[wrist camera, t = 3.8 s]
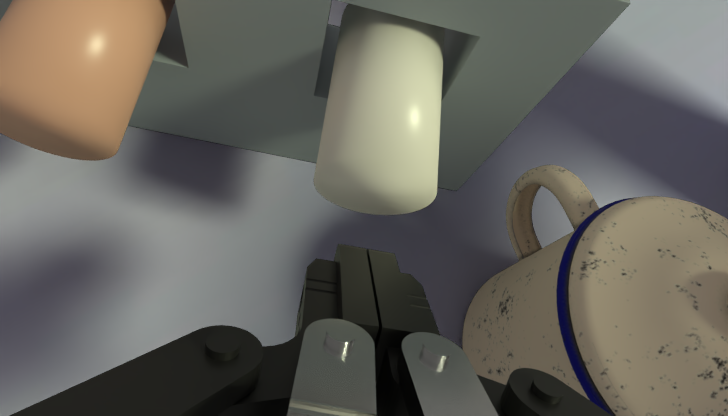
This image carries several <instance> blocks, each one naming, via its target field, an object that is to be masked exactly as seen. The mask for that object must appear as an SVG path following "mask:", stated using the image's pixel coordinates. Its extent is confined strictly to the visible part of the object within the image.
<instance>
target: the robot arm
mask: <svg viewBox="0 0 728 416" xmlns="http://www.w3.org/2000/svg"><path fill="white" fill-rule="evenodd" d="M10 416H612V415H610V414H609V413H608V412H606V411H605V410H603V409H602V408H600V407H599V406H597V405H596V404H594V403H593V402H591V401H590V400H588V399H587V398H586V397H584V396H583V395H581V394H580V393H578V392H577V391H575V390H574V389H572V388H571V387H569V386H568V385H566V384H565V383H563V382H562V381H560V380H559V379H557V378H556V377H554V376H552V375H550V374H548V373H545V372H543V371H540V370H536V369H532V368H519V369H516V370H514V371H513V372H512V373H511V374H510V376H509V379H508V381H507V384H506V385H504V384H502V383H499V382H496V381H493V380H491V379H488V378H485V377H482V376H480V375H477V374H476V372H475V370H474V368H473V367H472V365H471V363H470V361H469V359H468V357H467V355H466V354H465V352H464V351H463V350H462V349H461V348H460V347H459V346H458V345H456V344H455V343H454V342H452V341H450V340H449V339H447V338H445V337H442V336H440V334H439V331H438V328H437V326H436V323H435V320H434V317H433V315H432V312H431V310H430V306H429V304H428V301H427V300H426V295H425V293H424V290H423V287H422V285H421V284H420V283H419V282H418V281H417V280H416V279H415V278H414V277H413V276H412V275H411V274H405V273H400V271H399V267H398V264H397V260H396V257H395V254H394V253H388V252H382V251H376V250H371V249H367V250H366V249H365V248H360V247H354V246H348V245H343V244H338V246H337V250H336V254H335V258H334V261H328V260H322V259H315V260H314V261H313V262H312V263H311V264H310V265H309V266H308V267H307V272H306V276H305V281H304V286H303V291H302V296H301V301H300V306H299V311H298V316H297V323H296V332H295V337H294V338H293V339H291V340H290V341H288V342H285V343H283V344H279V345H275V346H267V347H262V345H261V343H260V341H259V340H258V339H257V338H256V337H255V336H254V335H253V334H251V333H249V332H248V331H246V330H243V329H241V328H237V327H232V326H223V325H220V326H209V327H205V328H202V329H199V330H196V331H194V332H192V333H190V334H188V335H185V336H183V337H181V338H179V339H177V340H174V341H172V342H170V343H168V344H166V345H163V346H161V347H159V348H157V349H155V350H153V351H150V352H148V353H146V354H144V355H142V356H139V357H137V358H135V359H133V360H131V361H128V362H126V363H124V364H122V365H120V366H117V367H115V368H113V369H111V370H109V371H106V372H104V373H102V374H100V375H98V376H96V377H93V378H91V379H89V380H87V381H85V382H82V383H80V384H78V385H76V386H74V387H71V388H69V389H67V390H65V391H63V392H60V393H58V394H56V395H54V396H52V397H50V398H47V399H45V400H43V401H41V402H39V403H36V404H34V405H32V406H30V407H28V408H25V409H23V410H21V411H19V412H17V413H14V414H12V415H10Z"/></svg>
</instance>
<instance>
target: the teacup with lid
mask: <svg viewBox="0 0 728 416" xmlns="http://www.w3.org/2000/svg"><path fill="white" fill-rule="evenodd" d="M541 186H544V187H545V188H547V189H548V190H550V191H551V192H552V193H553V194H554V195H555V196H556V198H557V199H558V200H559V202H560V204H561V205H562V207H563V209H564V210H565V212H566V214H567V216H568V218H569V220H570V222H571V224H572V226H573V228H574V231H573V232H571V233H570V234H568V235H566V236H564V237H562V238H561V239H559V240H557V241H555V242H553V243H552V244H550V245H548V246H546V247H544V248H543V249H542V248H541V245H540V243H539V241H538V239H537V236H536V234H535V231H534V228H533V223H532V205H533V201H534V198H535V195H536V193H537V191H538V190H539V188H540V187H541ZM506 224H507V230H508V234H509V237H510V240H511V243H512V245H513V248H514V250H515V253H516V255H517V257H518V259H519V262H517V263H515V264H514V265H512V266H510V267H508V268H507V269H505V270H503V271H501V272H499V273H498V274H496V275H494V276H493V277H492V278H490V279H489V280H488V281H487V282H486V283H485V284H484V285H483V286H482V287H481V288H480V289H479V291H478V292H477V293H476V295H475V296H474V298H473V300H472V302H471V304H470V306H469V308H468V311H467V314H466V318H465V321H464V327H463V338H462V346H463V351H464V352H465V354H466V355H467V357H468V359H469V361H470V363H471V365H472V367H473V368H474V370H475V372H476V374H477V375H480V376H482V377H485V378H488V379H491V380H493V381H496V382H499V383H502V384H504V385H506V384H507V381H508V379H509V376H510V374H511V373H512V372H513V371H514V370H516V369H519V368H532V369H536V370H540V371H543V372H545V373H548V374H550V375H552V376H554V377H556V378H557V379H559V380H560V381H562V382H563V383H565V384H566V385H568V386H569V387H571V388H572V389H574V390H575V391H577V392H578V393H580V394H581V395H583V396H584V397H586V398H587V399H588V400H590V401H591V402H593V403H594V404H596V405H597V406H599V407H600V408H602V409H603V410H605V411H606V412H608V413H609V414H610V415H612V416H728V219H726V218H725V217H723V216H721V215H719V214H717V213H716V212H714V211H711V210H709V209H707V208H705V207H703V206H700V205H697V204H695V203H692V202H688V201H685V200H681V199H675V198H669V197H658V196H645V197H638V198H628V199H623V200H619V201H615V202H613V203H610V204H608V205H605V206H604V207H602V208H600V209H599V208H598V206H597V204H596V202H595V200H594V198H593V197H592V195H591V193H590V192H589V190H588V189H587V187H586V186H585V185H584V183H583V182H582V181H581V180H580V179H579V178H578V177H577V176H576V175H575V174H573V173H572V172H570V171H569V170H567V169H565V168H562V167H560V166H556V165H544V166H540V167H537V168H533V169H531V170H529V171H527V172H526V173H524V174H523V175H522V176H521V177H520V178H519V179H518V180H517V181H516V183H515V184H514V186H513V188H512V190H511V192H510V195H509V198H508V202H507V208H506Z"/></svg>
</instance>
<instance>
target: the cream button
mask: <svg viewBox="0 0 728 416" xmlns="http://www.w3.org/2000/svg"><path fill="white" fill-rule="evenodd" d="M444 33H445V28H444V27H440V26H436V25H432V24H428V23H424V22H420V21H416V20H412V19H408V18H404V17H400V16H396V15H392V14H388V13H385V12H381V11H377V10H373V9H369V8H365V7H361V6H357V5H353V4H349V3H348V5H347V6H346V8H345V10H344V12H343V15H342V20H341V25H340V31H339V37H338V43H337V48H336V54H335V60H334V66H333V71H332V77H331V83H330V89H329V94H328V100H327V106H326V112H325V117H324V123H323V129H322V135H321V140H320V146H319V152H318V158H317V163H316V169H315V175H314V186H315V188H316V190H317V191H318V192H319V193H320V194H321V195H322V196H323V197H324V198H325V199H327V200H328V201H330V202H332V203H334V204H336V205H338V206H340V207H343V208H346V209H349V210H352V211H356V212H361V213H366V214H374V215H399V214H406V213H411V212H415V211H418V210H420V209H423V208H425V207H427V206H428V205H429V204H431V203H432V202H433V201H434V199H435V198H436V195H437V182H438V160H439V139H440V118H441V97H442V75H443V54H444Z"/></svg>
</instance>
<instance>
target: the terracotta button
mask: <svg viewBox="0 0 728 416" xmlns="http://www.w3.org/2000/svg"><path fill="white" fill-rule="evenodd" d="M174 4H175V0H12V2H11V4H10V5H9V7H8V9H7V10H6V12H5V14H4V16H3V17H2V19H1V21H0V133H2V134H4V135H5V136H7V137H9V138H11V139H14V140H16V141H18V142H20V143H22V144H25V145H27V146H30V147H32V148H35V149H38V150H41V151H44V152H47V153H50V154H54V155H58V156H62V157H67V158H72V159H78V160H104V159H108V158H110V157H112V156H114V155H115V154H116V153H117V151H118V149H119V147H120V144H121V141H122V139H123V136H124V134H125V131H126V128H127V126H128V123H129V121H130V118H131V115H132V113H133V110H134V108H135V105H136V102H137V100H138V97H139V95H140V92H141V90H142V87H143V84H144V82H145V79H146V77H147V74H148V71H149V69H150V66H151V64H152V61H153V58H154V56H155V53H156V51H157V48H158V45H159V43H160V40H161V38H162V35H163V32H164V30H165V27H166V25H167V22H168V20H169V17H170V14H171V12H172V9H173V7H174Z"/></svg>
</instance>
